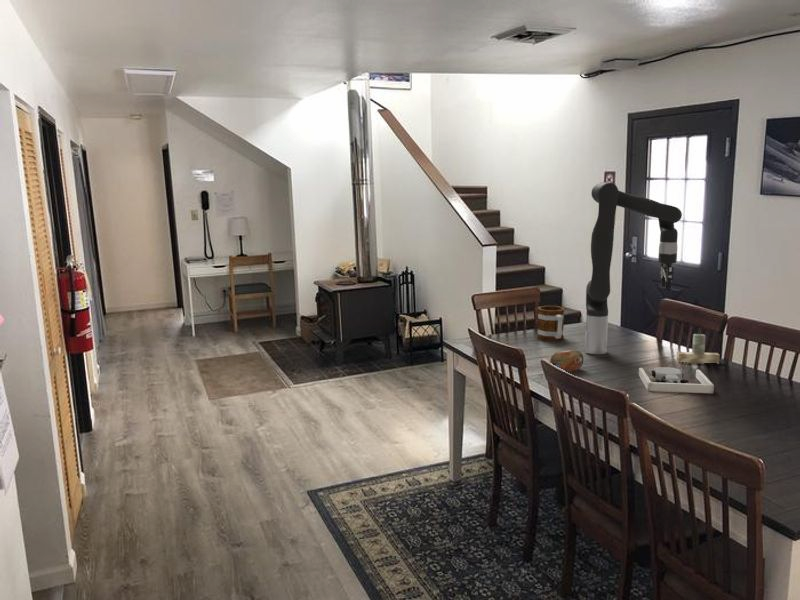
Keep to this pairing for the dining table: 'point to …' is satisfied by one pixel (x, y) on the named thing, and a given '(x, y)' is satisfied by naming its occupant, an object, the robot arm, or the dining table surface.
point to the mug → (550, 323)
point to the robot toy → (668, 375)
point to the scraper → (698, 352)
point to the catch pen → (678, 384)
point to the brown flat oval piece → (567, 360)
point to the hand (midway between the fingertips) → (665, 288)
